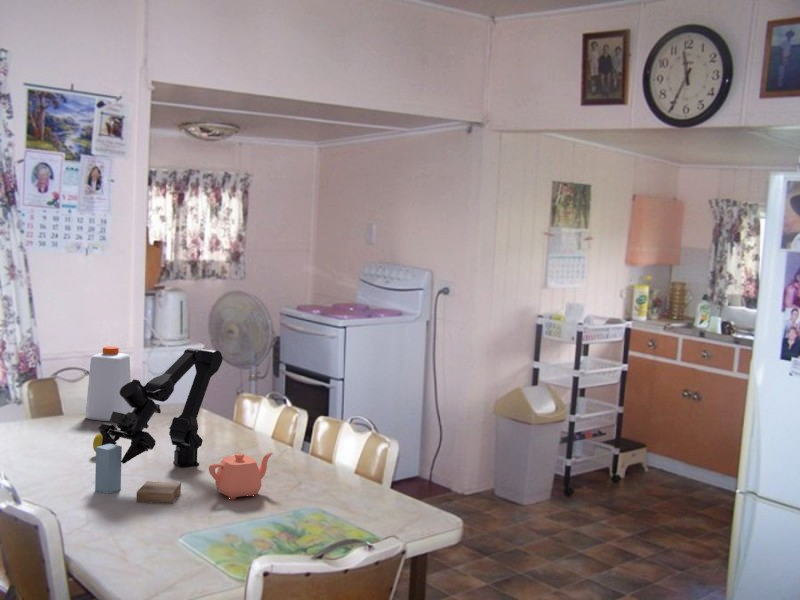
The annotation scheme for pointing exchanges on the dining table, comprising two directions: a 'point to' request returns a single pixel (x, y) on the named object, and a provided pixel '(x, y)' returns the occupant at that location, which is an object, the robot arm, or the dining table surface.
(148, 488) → the walnut base
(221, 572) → the dining table surface
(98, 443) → the lemon
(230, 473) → the teapot
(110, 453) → the blue block
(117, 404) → the plastic bottle
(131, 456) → the robot arm
